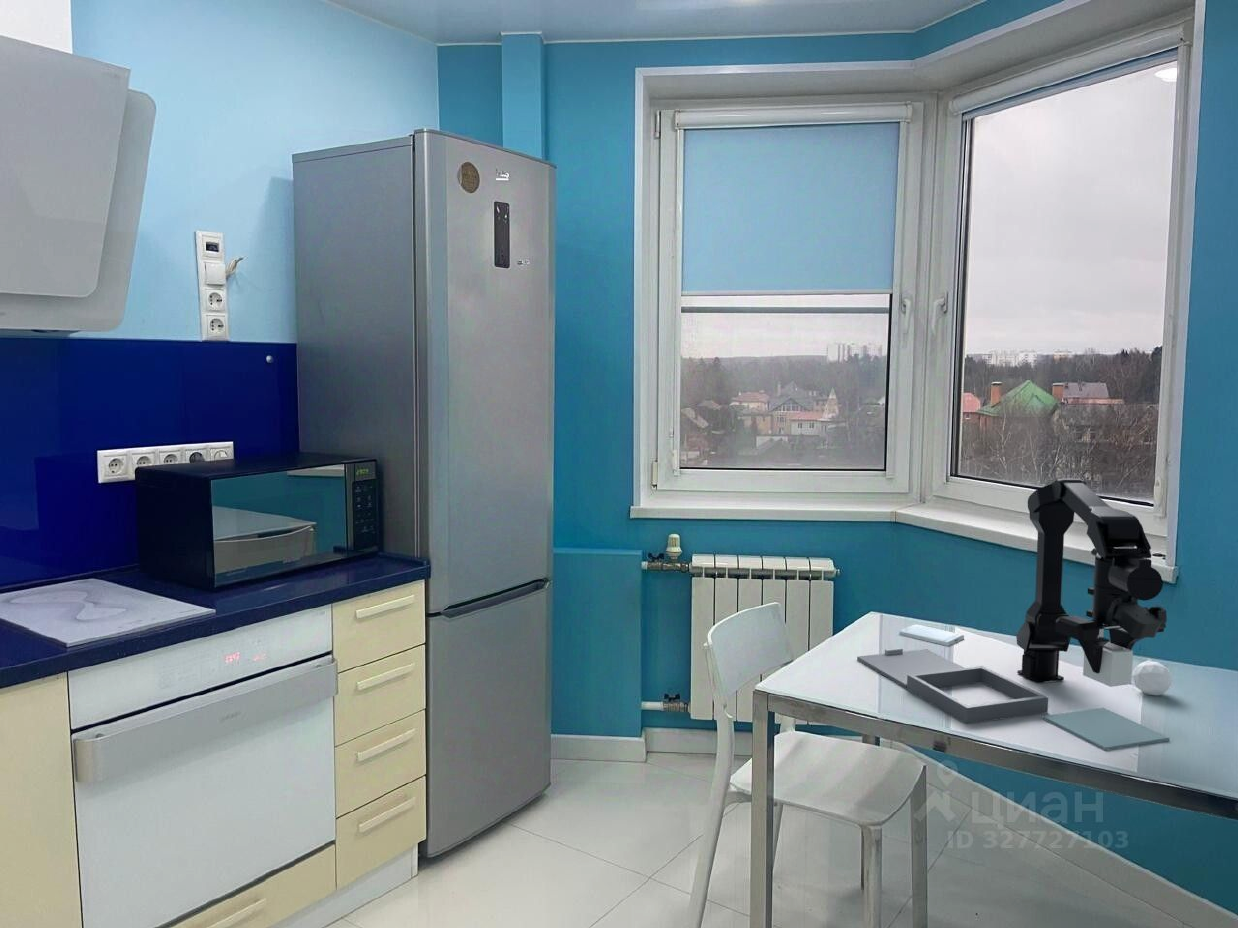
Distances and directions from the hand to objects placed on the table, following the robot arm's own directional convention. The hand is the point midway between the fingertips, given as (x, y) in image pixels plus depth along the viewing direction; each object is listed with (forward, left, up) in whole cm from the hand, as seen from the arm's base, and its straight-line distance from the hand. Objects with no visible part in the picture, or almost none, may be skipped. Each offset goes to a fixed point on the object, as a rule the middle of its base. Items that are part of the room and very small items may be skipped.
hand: (1106, 671), depth 151 cm
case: (+13, -27, -11) cm, 32 cm away
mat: (0, 0, -11) cm, 11 cm away
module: (0, 0, -2) cm, 2 cm away
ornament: (-23, -11, -11) cm, 28 cm away
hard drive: (-5, -55, -12) cm, 57 cm away
